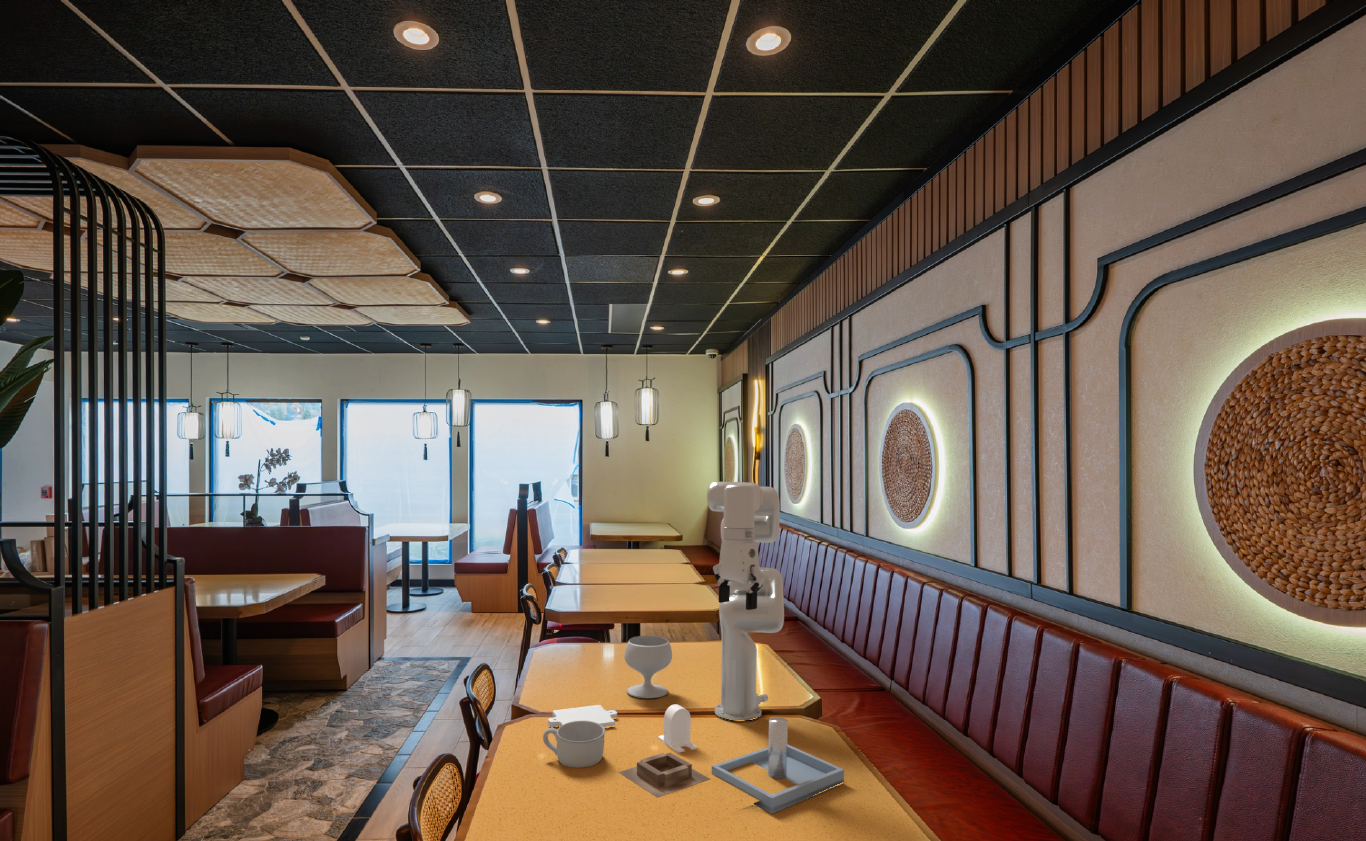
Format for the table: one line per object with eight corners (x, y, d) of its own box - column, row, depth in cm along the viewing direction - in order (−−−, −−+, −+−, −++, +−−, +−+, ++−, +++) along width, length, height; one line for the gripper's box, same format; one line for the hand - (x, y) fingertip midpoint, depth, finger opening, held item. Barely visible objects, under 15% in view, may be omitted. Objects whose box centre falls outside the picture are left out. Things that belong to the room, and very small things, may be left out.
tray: (782, 755, 170) (782, 742, 170) (843, 783, 156) (844, 769, 156) (711, 780, 156) (711, 765, 156) (771, 813, 142) (771, 798, 142)
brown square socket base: (669, 763, 164) (670, 745, 164) (710, 786, 153) (710, 766, 153) (618, 779, 155) (618, 760, 156) (657, 805, 144) (657, 784, 145)
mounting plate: (554, 737, 178) (554, 729, 179) (543, 719, 190) (543, 711, 190) (624, 727, 186) (624, 720, 186) (608, 710, 198) (608, 703, 198)
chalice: (670, 701, 205) (671, 647, 205) (621, 700, 205) (622, 646, 206) (672, 685, 219) (673, 635, 219) (625, 684, 219) (626, 634, 220)
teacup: (612, 760, 165) (612, 724, 165) (590, 780, 155) (591, 741, 155) (557, 750, 170) (558, 715, 170) (533, 769, 159) (534, 732, 160)
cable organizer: (676, 740, 177) (677, 698, 178) (697, 755, 169) (698, 711, 169) (657, 744, 175) (658, 702, 175) (678, 759, 166) (679, 715, 167)
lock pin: (777, 771, 159) (778, 715, 159) (790, 778, 156) (791, 721, 156) (764, 776, 156) (765, 719, 157) (777, 783, 153) (778, 725, 154)
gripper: (775, 537, 173) (773, 610, 172) (726, 530, 186) (725, 597, 186) (752, 539, 168) (751, 614, 168) (704, 532, 182) (702, 601, 181)
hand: (737, 605), depth 177 cm, fingers open, 9 cm apart
